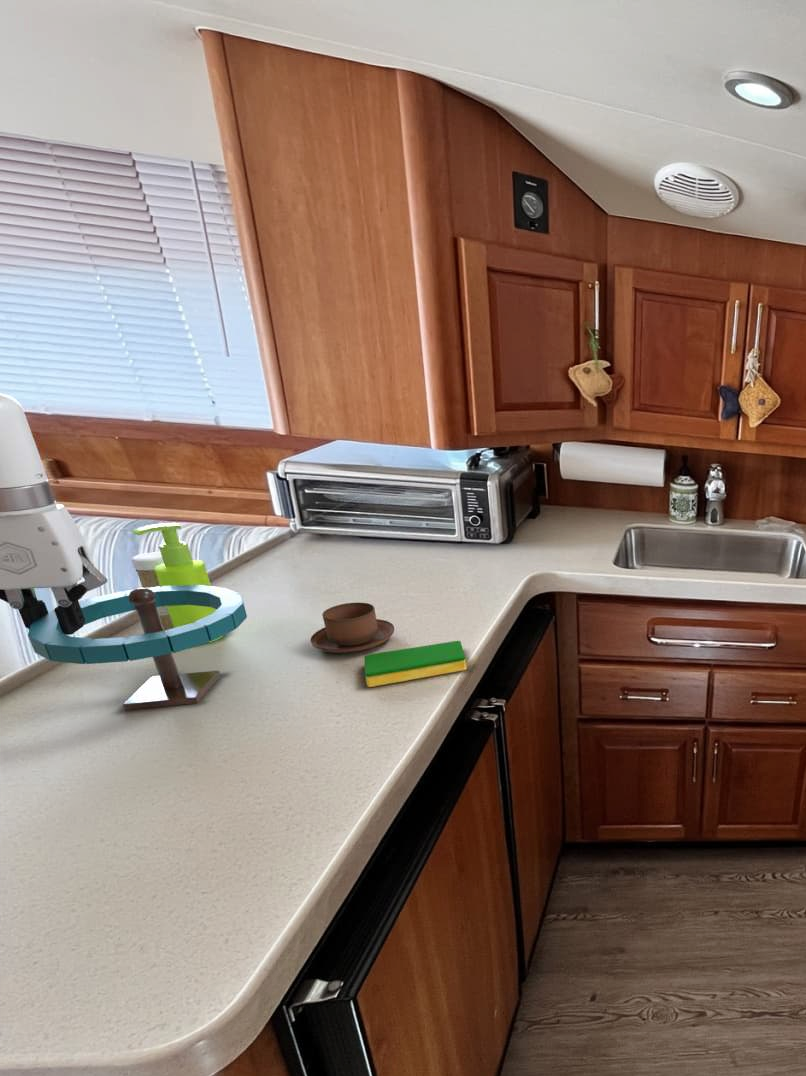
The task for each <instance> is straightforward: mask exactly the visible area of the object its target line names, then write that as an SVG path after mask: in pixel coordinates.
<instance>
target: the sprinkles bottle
mask: <svg viewBox="0 0 806 1076" xmlns="http://www.w3.org/2000/svg"><path fill="white" fill-rule="evenodd" d="M131 562H132V566H133V569H134V570H135V572H137V577H138V579H139V582H140V588H149V587H157V586H160V584H159V581H158V578H157V575H156V572H155V567H156V566H158V565H160V564H163V563H164V562H163V558H162V555H161V552H160V551H151V552H144V553H139V554H137V555H136V554H135V555H134V556H132V558H131ZM156 608H157V611H158V614H159V617H160V619H161V622H162V625H163V628H164V631H165V630H169V629H172V628H174V626H173V623H172V620H171V617H170V614H169V611H168V608H167V606H160V607H156Z"/></svg>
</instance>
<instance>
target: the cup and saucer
mask: <svg viewBox="0 0 806 1076" xmlns="http://www.w3.org/2000/svg"><path fill="white" fill-rule="evenodd" d="M376 615H377V614H376V610H375V606H374V605H373V604H371V603H368V602H347V603H342V604H338V605H334V606H331V607H328V608H326V609H325V610H324V611H323V612H322V620H323V624H324V627H322V628H321V629H319V630H317V631H316V632H314V633H312V635H311V637H310V643H311V645H312V646H313V647H314V648H315V649H317V650H319V651H321V652H325V653H332V654H346V653H347V654H349V653H350V654H351V653H356V652H362V651H366V650H369V649H372V648H374V647H377V646H379V645H382V644H383V643H385V642H386V641H387V640H389V639H390V638H391V637H392V636H393V635H394V633H395V626H394V624H393V623H392V622H390V621H388V620H385V619H379V618H377V616H376Z"/></svg>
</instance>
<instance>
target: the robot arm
mask: <svg viewBox="0 0 806 1076" xmlns="http://www.w3.org/2000/svg"><path fill="white" fill-rule="evenodd" d="M82 579H84V581H81V580H82ZM79 581H81V582H79ZM107 583H108V578H107V577H106V576H105V575H104V574H103V573H101V571H100V570H99V569H98V568H96V567H95V563H94V560H93V557H92V555H91V551H90V549H89V547H88V544H87V542H86V540H85V538H84V536H83V534H82V532H81V531H80V528H79V526H78V525H77V523H76V521H75V519H74V518H73V517H72V515H71V514H70V512H69V511H68V509H67V508H66V507H65V506H64V504H62V503H57V501H56V498H55V496H54V491H53V490H52V487H51V484H50V481H49V478H48V475H47V473H46V470H45V467H44V464H43V462H42V459H41V455H40V453H39V450H38V447H37V445H36V441H35V438H34V437H33V432H32V430H31V427H30V425H29V422H28V419H27V416H26V414H25V411H24V409H23V407H22V405H21V404H20V402H19V401H17V399H15V398H14V397H12V396H10V395H8V394H5V393H4V394H3V393H0V600H2V601H4V602H6V603H8V604H9V606H10V608H11V609H13V610H18V613H19V615H20V617H21V620H22V622H23V625H24V627H25V628H26V629H28V630H29V629H30V625H31V624H32V623H33V622H35V621H37V620H38V619H40V618H41V617H43V616H45V615H46V614H48V613H49V610H48V608H47V606H46V605H47V604H46V602H45V601H43V599H38V598H37V594H36V590H35V589H50V590H51V593H52V594H53V597H54V599H55V601H56V603H57V605H58V606H56V607H54V609H53V610H54V611H55V614H56V616H57V619H58V621H59V623H60V626H61V628H62V631H63V633H64V634H65V635H67V636H70V635H71V636H72V635H73V634H75V633H76V632H77V631H79V630H81V629H82V628H83V627H84V626H85V625H84V623H85V618H84V615H83V612H82V610H81V607H80V604H79V601H80V600H81V599H82V598H83V597H84V596H85V595H86V594H87V593H88V592H90V591H92V590H95V589H98V588H100V587H102V586H103V585H105V584H107Z"/></svg>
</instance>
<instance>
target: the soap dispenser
mask: <svg viewBox="0 0 806 1076" xmlns="http://www.w3.org/2000/svg"><path fill="white" fill-rule="evenodd" d="M177 530H182V526H181V524H179V523H178V522H165V523H155V524H149V525H145V526H141V527H138V528H135V529H132V530H131V532H132V533H133V534H134V535H137V536H142V535H144V534H148V533H154V532H161V535H162V538H163V541H164V542H163V543H161V544H159V546H158V548H159V552H161V555H162V558H163V562H164V563H163V564H160V565H158V566H156V567H155V572H156V575H157V578H158V581H159V584H160V586H161V587H162V586H176V585H195V586H196V585H204V586H212V584H211V582H210V578H209V575H208V571H207V568H206V565H205V562H204V561H203V560H201V559H193V557H192V554H191V550H190V547H189V544H188V543H187V542H185V541H182V540H180V538H179V536H178V531H177ZM167 608H168V611H169V614H170V617H171V620H172V623H173V626H174V628H176V627H180V626H183V625H187V624H190V623H193V622H196V621H198V620H200V619H202V618H205V617H207V616H209V615H211V614H213V613H214V612H215V611H216V610H217V609H214V608H212V607H205V606H195V605H177V606H167ZM224 636H225V635H223V636H221V637H219V638H217V639H215V640H213V641H210V642H208V643H212V642H215V641H217V640H220V639H221V638H223V637H224ZM208 643H207V644H208Z"/></svg>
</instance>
